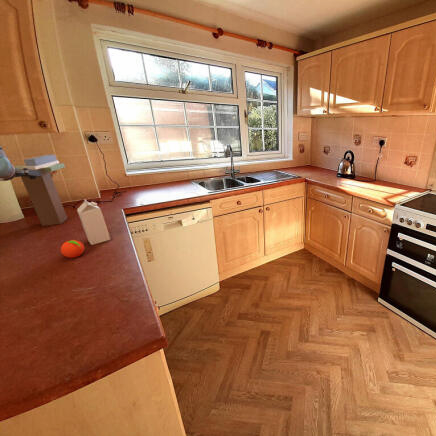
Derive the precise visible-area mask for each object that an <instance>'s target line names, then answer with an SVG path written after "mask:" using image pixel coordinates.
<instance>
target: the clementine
mask: <svg viewBox="0 0 436 436" xmlns="http://www.w3.org/2000/svg"><path fill="white" fill-rule="evenodd" d="M84 251H85V246H84V243H83V242H82V241H79V240H77V239H70V240H67V241H65V242H64V243H63V244H62V245H61V246H60V253H61V254H62V255H63V256H64V257H65V258H71V259H73V258H77V257H80V256H81V255H82V254H83V253H84Z"/></svg>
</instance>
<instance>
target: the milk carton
mask: <svg viewBox="0 0 436 436" xmlns="http://www.w3.org/2000/svg"><path fill="white" fill-rule="evenodd" d="M83 200H84V201H83V202H82V204H80V206H79V207H77V209H76V211H77V214H78V216H79V217H78V218H79V219H80V221H81V225H82V228H83V230H84V233H85V237H86V238H87V241H88V243H89V244H90V245H91V246H94V245H97V244H100V243H105V242H107V241H111V236H110V233H109V231H108V228H107V224H106V221H105V218H104V215H103V212H102V209H101V207H99V206H98V203H97V202H94V201H91V202H89V201H87V200H86V199H85V198H84V199H83Z"/></svg>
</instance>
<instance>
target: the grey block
mask: <svg viewBox="0 0 436 436" xmlns="http://www.w3.org/2000/svg"><path fill="white" fill-rule="evenodd" d="M23 162H24V164H25V166H26V167H22V168H27V169H31V170H37V169H40V168H43V167H47V166H50V165H54V164H60V161H59V159H57V157H56V155H55V154H44V155H39V156H35V157H30V158H24V159H23Z"/></svg>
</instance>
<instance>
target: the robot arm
mask: <svg viewBox="0 0 436 436" xmlns="http://www.w3.org/2000/svg"><path fill="white" fill-rule="evenodd" d="M14 166H15V165H13V164H12V162H11V161H10V159H9V158H8V156H7V154H6V151H4V149H3V148H2V146H1V145H0V182H7V181H11V180H13V179H14V178H21V176H23V177H30V179H36V177H41V172H40V171H37V170H31V169H27V168H23V169H22V170H19V169H17V168H15V167H14Z"/></svg>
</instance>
